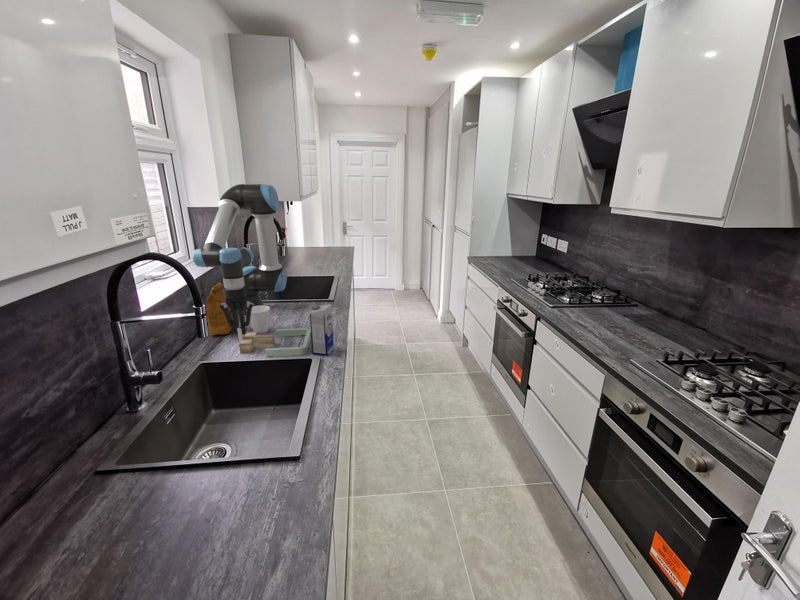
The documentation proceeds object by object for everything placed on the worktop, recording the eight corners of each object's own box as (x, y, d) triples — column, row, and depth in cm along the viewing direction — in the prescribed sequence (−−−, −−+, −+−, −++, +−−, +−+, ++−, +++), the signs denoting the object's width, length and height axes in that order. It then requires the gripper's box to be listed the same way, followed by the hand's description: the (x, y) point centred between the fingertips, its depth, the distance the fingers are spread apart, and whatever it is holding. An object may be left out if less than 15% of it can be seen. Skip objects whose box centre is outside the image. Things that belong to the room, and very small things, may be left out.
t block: (248, 340, 156) (247, 332, 154) (276, 339, 157) (276, 331, 156) (240, 353, 144) (239, 344, 143) (270, 351, 146) (269, 343, 144)
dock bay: (276, 335, 161) (276, 329, 160) (311, 334, 163) (311, 328, 162) (266, 357, 141) (265, 350, 140) (306, 355, 143) (305, 348, 142)
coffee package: (238, 325, 171) (232, 281, 164) (229, 336, 160) (222, 289, 153) (216, 326, 170) (209, 281, 163) (206, 337, 159) (198, 289, 152)
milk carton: (327, 356, 143) (324, 309, 136) (311, 354, 144) (308, 308, 138) (334, 348, 149) (331, 303, 143) (318, 347, 151) (316, 302, 144)
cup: (276, 327, 170) (273, 305, 166) (266, 336, 160) (263, 313, 157) (256, 326, 170) (253, 304, 167) (245, 334, 161) (242, 312, 158)
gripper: (213, 290, 137) (222, 345, 145) (249, 289, 139) (255, 344, 146) (220, 285, 144) (228, 338, 152) (254, 284, 146) (260, 337, 153)
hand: (241, 341), depth 149 cm, fingers closed
